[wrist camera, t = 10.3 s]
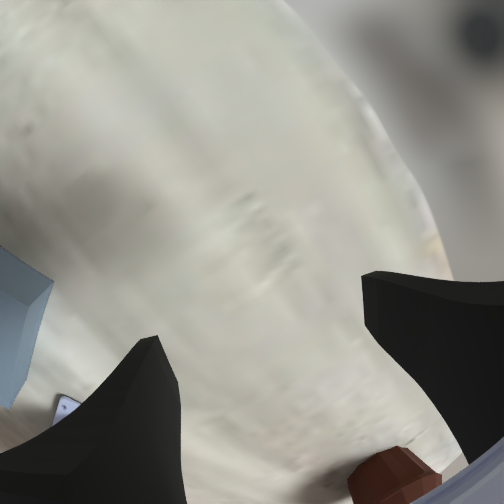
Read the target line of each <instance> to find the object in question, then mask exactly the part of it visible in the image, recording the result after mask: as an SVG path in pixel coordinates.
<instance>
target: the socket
mask: <svg viewBox="0 0 504 504" xmlns="http://www.w3.org/2000/svg"><path fill="white" fill-rule="evenodd" d="M53 283H54V281H52V280H50V279H49V278H47V277H46V276H44V275H42V274H41V273H39V272H38V271H36V270H35V269H33V268H32V267H30V266H28V265H27V264H25V263H24V262H22V261H21V260H19V259H18V258H16V257H15V256H14V255H12V254H11V253H9V252H8V251H6V250H5V249H3V248H2V247H1V246H0V405H1V406H3V407H4V408H6V409H8V410H9V409H10V407H11V405H12V404H13V402H14V400H15V398H16V396H17V395H18V393H19V391H20V390H21V388H22V386H23V384H24V383H25V381H26V379H27V375H28V371H29V366H30V362H31V358H32V353H33V349H34V346H35V342H36V338H37V334H38V331H39V327H40V324H41V320H42V317H43V314H44V311H45V307H46V304H47V301H48V298H49V295H50V292H51V289H52V286H53Z"/></svg>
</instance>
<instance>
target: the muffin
mask: <svg viewBox="0 0 504 504" xmlns="http://www.w3.org/2000/svg"><path fill="white" fill-rule="evenodd" d="M347 481H348V484H349V490H350V494H351V497H352V500H353V503H354V504H410V503H412V502H413V501H415V500H417V499H419V498H420V497H422V496H424V495H425V494H427V493H429V492H430V491H432V490H433V489H435V488H437V487H438V486H440V485H441V484H442V475H441V474H438V473H436V472H435V471H434V470H432V469H431V468H430V467H429V466H428V465H427V464H425V463H424V462H423V461H422V460H421V459H420V458H418V457H417V456H416V455H415V454H414V453H413V452H411V451H410V450H409V449H408V448H401V447H399V446H395V447H393V448H391V449H388V450H385V451H382V452H379V453H377V454H376V455H374V456H373V457H372V458H370V459H369V460H367V461H366V462H364V463H362V464H361V465H359V466H358V467H357V469H356V470H355V471H354V473H353V474H352V475H351V476H350V477H349V478H348V479H347Z"/></svg>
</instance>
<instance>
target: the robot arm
mask: <svg viewBox="0 0 504 504" xmlns="http://www.w3.org/2000/svg"><path fill="white" fill-rule="evenodd" d="M361 279H362V291H363V305H364V322H365V326H366V327H367V329H368V330H369V332H370V333H371V335H372V336H373V337H374V339H375V340H376V341H377V342H378V344H379V345H380V346H381V347H382V348H383V349H384V350H385V351H386V352H387V353H388V354H389V355H390V356H391V357H392V358H393V359H394V360H395V361H396V362H397V363H398V364H399V365H400V366H401V367H402V368H403V369H404V370H405V371H406V372H407V373H408V374H409V375H410V376H411V377H412V378H413V379H414V380H415V381H416V382H417V383H418V385H419V386H420V387H421V388H422V389H423V391H424V392H425V393H426V395H427V396H428V397H429V399H430V400H431V401H432V403H433V404H434V405H435V407H436V408H437V410H438V411H439V413H440V414H441V416H442V417H443V419H444V420H445V422H446V423H447V425H448V427H449V428H450V430H451V432H452V433H453V435H454V437H455V438H456V440H457V442H458V444H459V446H460V448H461V449H462V451H463V453H464V455H465V457H466V459H467V462H468V464H469V466H467V467H466V468H465V469H463V470H462V471H460V472H459V473H457V474H456V475H455V476H453V477H452V478H450V479H449V480H448V481H446V482H444V483H443V484H441V485H440V486H438V487H437V488H435V489H433V490H432V491H430V492H429V493H427V494H425V495H424V496H422V497H420V498H419V499H417V500H415V501H413V502H412V503H410V504H504V281H498V282H459V281H448V280H439V279H432V278H425V277H419V276H413V275H407V274H401V273H394V272H386V271H374V272H371V273H368V274H365V275H363V276H361ZM64 405H65V406H64ZM0 504H187V501H186V496H185V490H184V484H183V478H182V471H181V403H180V394H179V387H178V381H177V379H176V377H175V375H174V372H173V370H172V368H171V366H170V363H169V361H168V359H167V356H166V354H165V352H164V349H163V347H162V345H161V342H160V340H159V337H158V335H156V336H152V337H148V338H144V339H140V340H139V341H138V342H137V343H136V344H135V346H134V347H133V348H132V349H131V350H130V351H129V353H128V354H127V355H126V356H125V358H124V359H123V360H122V361H121V362H120V364H119V365H118V366H117V367H116V368H115V370H114V371H113V372H112V373H111V374H110V375H109V376H108V377H107V378H106V380H105V381H104V382H103V383H102V384H101V385H100V386H99V387H98V388H97V389H96V390H95V391H94V392H93V393H92V394H91V395H90V396H89V397H88V398H87V399H86V400H85V401H84V402H83V403H82V404H80V403H78V402H76V401H74V400H72V399H70V398H68V397H66V396H62V397H61V398H60V400H59V403H58V407H57V410H56V413H55V417H54V420H53V424H52V427H51V428H49V429H48V430H46V431H44V432H43V433H41V434H39V435H38V436H36V437H34V438H32V439H31V440H29V441H27V442H25V443H23V444H21V445H19V446H17V447H14V448H12V449H10V450H7V451H5V452H3V453H0Z"/></svg>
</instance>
